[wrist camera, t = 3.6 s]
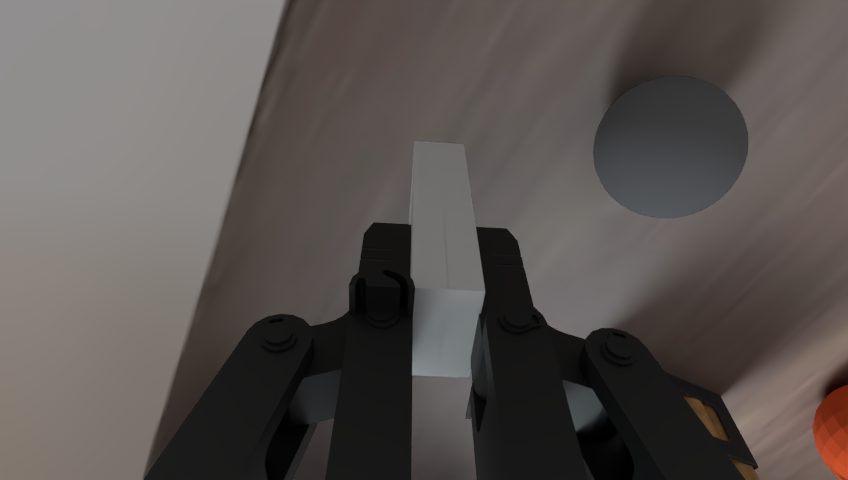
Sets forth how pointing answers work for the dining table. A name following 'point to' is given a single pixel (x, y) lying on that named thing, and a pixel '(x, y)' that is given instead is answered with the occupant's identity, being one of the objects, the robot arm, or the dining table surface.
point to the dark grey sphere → (670, 146)
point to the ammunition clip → (719, 425)
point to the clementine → (833, 431)
